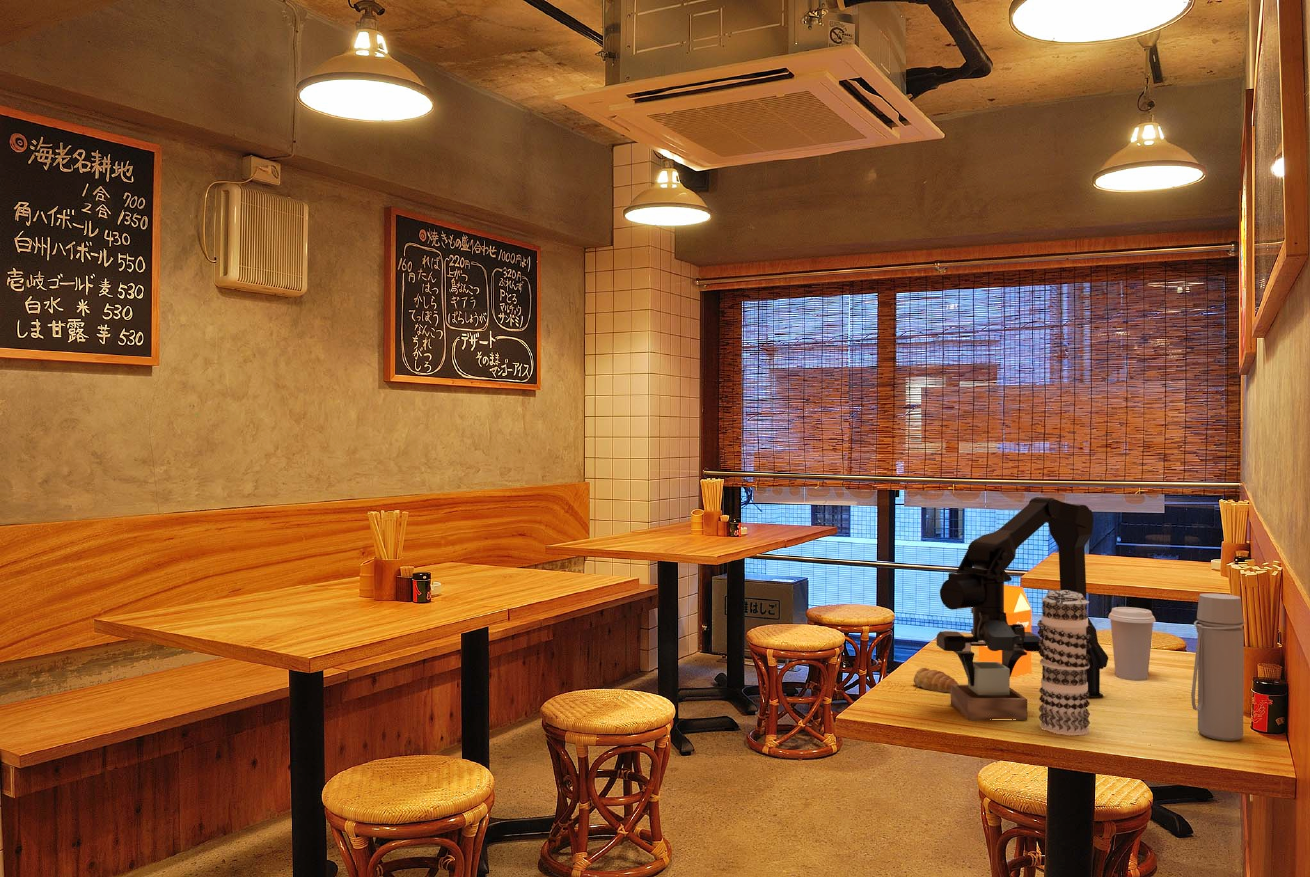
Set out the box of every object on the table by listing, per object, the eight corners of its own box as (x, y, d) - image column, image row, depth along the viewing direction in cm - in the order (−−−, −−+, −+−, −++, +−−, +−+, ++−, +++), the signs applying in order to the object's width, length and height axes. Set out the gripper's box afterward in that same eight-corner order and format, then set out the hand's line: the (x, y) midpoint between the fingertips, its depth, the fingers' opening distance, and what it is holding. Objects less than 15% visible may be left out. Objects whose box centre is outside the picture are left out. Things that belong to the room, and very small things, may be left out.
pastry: (966, 691, 204) (966, 673, 204) (945, 696, 200) (945, 678, 200) (929, 682, 212) (929, 664, 212) (909, 687, 208) (909, 669, 208)
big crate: (1005, 704, 193) (1005, 684, 193) (1027, 720, 182) (1027, 699, 182) (950, 704, 193) (950, 684, 193) (969, 720, 182) (969, 699, 182)
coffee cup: (1109, 679, 214) (1109, 611, 214) (1106, 670, 223) (1107, 605, 223) (1157, 683, 211) (1157, 615, 211) (1153, 674, 220) (1153, 608, 220)
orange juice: (1013, 678, 215) (1013, 588, 215) (977, 671, 222) (978, 583, 222) (1031, 673, 220) (1032, 585, 220) (996, 666, 227) (997, 580, 227)
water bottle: (1222, 728, 177) (1222, 592, 178) (1255, 742, 170) (1255, 599, 170) (1177, 731, 176) (1177, 593, 176) (1208, 744, 168) (1208, 600, 168)
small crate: (998, 687, 191) (998, 661, 191) (1009, 695, 185) (1009, 668, 185) (967, 687, 191) (967, 661, 191) (978, 695, 185) (978, 668, 185)
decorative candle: (1046, 718, 184) (1046, 586, 184) (1098, 727, 178) (1098, 591, 178) (1029, 729, 177) (1030, 592, 177) (1083, 739, 171) (1083, 597, 171)
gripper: (953, 612, 180) (953, 696, 179) (1053, 612, 180) (1053, 696, 180) (935, 602, 191) (935, 681, 191) (1030, 602, 191) (1030, 681, 191)
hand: (988, 685), depth 188 cm, fingers closed on small crate, 6 cm apart
